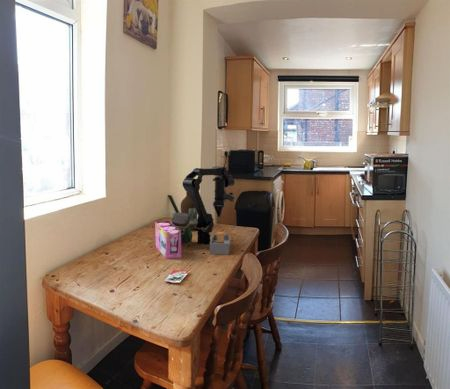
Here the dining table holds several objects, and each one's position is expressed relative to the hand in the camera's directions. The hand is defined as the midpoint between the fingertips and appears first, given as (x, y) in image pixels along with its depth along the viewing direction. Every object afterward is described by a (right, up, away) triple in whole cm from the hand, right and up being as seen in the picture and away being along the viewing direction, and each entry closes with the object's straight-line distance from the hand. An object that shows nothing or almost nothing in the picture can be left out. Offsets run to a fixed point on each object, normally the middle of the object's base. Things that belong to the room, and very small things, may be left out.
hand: (219, 215), depth 243 cm
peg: (+1, -17, -22) cm, 27 cm away
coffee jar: (-20, -12, -11) cm, 26 cm away
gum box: (-26, -18, -27) cm, 42 cm away
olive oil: (-19, -10, +19) cm, 29 cm away
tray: (+1, -17, -22) cm, 27 cm away
